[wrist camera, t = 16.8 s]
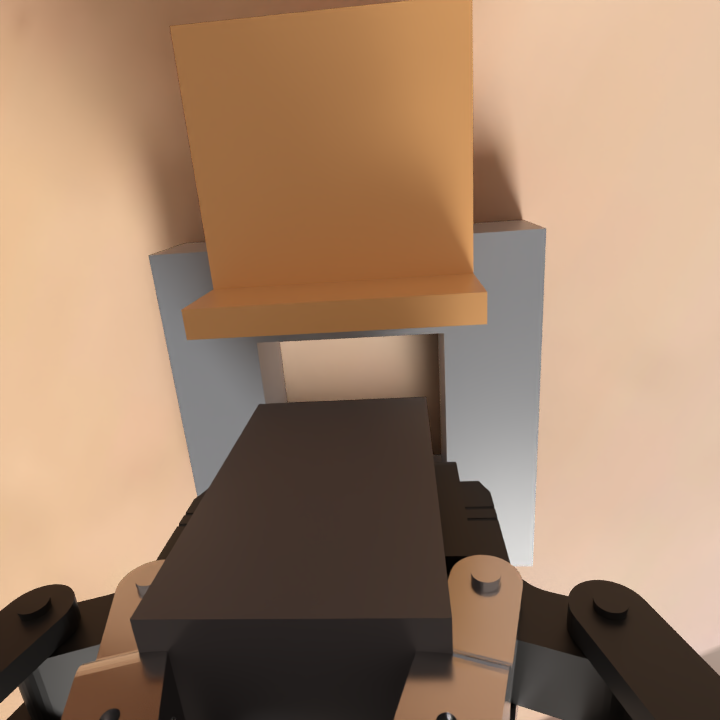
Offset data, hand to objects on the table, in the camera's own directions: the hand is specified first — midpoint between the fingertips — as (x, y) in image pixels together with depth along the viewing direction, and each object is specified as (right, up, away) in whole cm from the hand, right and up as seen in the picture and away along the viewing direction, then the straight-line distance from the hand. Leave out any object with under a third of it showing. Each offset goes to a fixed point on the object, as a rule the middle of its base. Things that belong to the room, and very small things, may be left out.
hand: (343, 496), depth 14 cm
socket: (+1, +2, +7) cm, 7 cm away
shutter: (0, +9, +1) cm, 9 cm away
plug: (0, +1, +2) cm, 2 cm away
